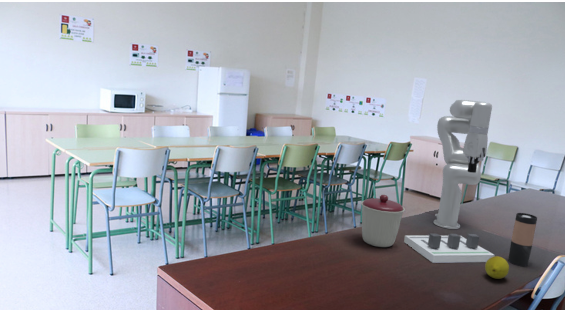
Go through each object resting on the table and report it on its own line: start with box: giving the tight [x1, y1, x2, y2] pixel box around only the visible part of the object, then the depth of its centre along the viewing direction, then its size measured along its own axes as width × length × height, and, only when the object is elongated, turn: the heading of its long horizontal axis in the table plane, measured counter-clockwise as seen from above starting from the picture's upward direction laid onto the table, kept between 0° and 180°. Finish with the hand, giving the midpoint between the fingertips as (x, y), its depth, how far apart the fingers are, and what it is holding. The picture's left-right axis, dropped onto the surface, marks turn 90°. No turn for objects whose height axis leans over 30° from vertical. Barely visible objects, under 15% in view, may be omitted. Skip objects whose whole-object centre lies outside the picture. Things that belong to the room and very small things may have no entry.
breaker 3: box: [466, 233, 480, 248], centre depth 187 cm, size 3×4×5 cm
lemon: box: [484, 255, 510, 280], centre depth 165 cm, size 11×8×8 cm
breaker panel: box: [403, 235, 496, 264], centre depth 189 cm, size 22×28×3 cm
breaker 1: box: [428, 233, 442, 248], centre depth 183 cm, size 3×4×5 cm
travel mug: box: [507, 212, 538, 267], centre depth 183 cm, size 8×8×20 cm
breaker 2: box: [447, 233, 462, 248], centre depth 185 cm, size 3×4×5 cm
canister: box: [360, 194, 406, 248], centre depth 190 cm, size 18×18×21 cm
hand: (471, 172), depth 199 cm, fingers closed
